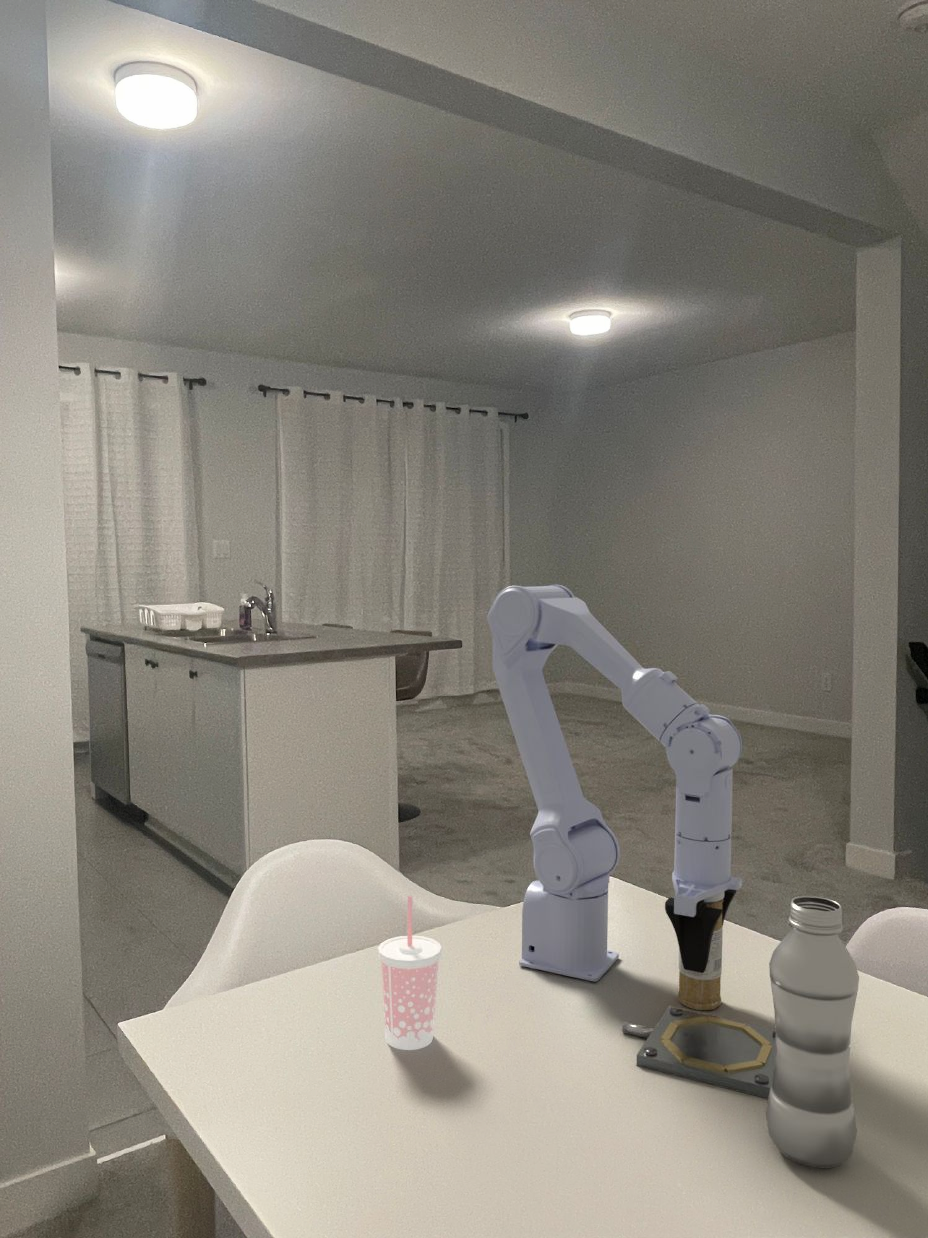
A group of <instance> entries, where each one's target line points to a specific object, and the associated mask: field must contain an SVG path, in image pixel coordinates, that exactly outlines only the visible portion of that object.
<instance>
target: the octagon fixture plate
mask: <svg viewBox="0 0 928 1238" xmlns="http://www.w3.org/2000/svg"><path fill="white" fill-rule="evenodd" d="M621 1030H622V1031H621V1032H622V1033H624V1034H628V1035H632V1036H635V1037H636V1036H637V1037H640V1038H645V1039H646V1040H645V1041H644V1043H643V1044H642V1046H641V1047H640V1049H639V1050H638V1052H637V1053H636V1066H638V1067H642V1068H646V1069H650V1070H653V1071H656V1072H662V1073H665V1074H670V1075H673V1076H676V1077H681V1078H685V1079H689V1080H693V1081H697V1082H701V1083H705V1084H709V1085H713V1086H715V1087H716V1086H717V1087H721V1088H725V1089H728V1090H731V1091H732V1090H733V1091H736V1092H740V1093H744V1094H748V1095H752V1096H756V1097H759V1098H763V1099H766V1100H768V1096H769V1092H770V1088H771V1085H772V1078H773V1069H774V1060H775V1050H776V1039H775V1035H776V1031H775V1028H770V1027H765V1026H760V1025H755V1024H751V1023H747V1022H741V1021H738V1020H733V1019H728V1018H724V1017H720V1016H719V1017H718V1016H716V1015H710V1014H706V1013H701V1012H697V1011H693V1010H688V1009H683V1008H679V1007H674V1006H670V1005H669V1006H668V1007H667V1008H666V1010H665V1012H664V1013H663V1015H661V1018H660V1019H659V1020H658V1022H657V1024H656V1025H655V1027H653V1028H652V1027H649V1026H645V1025H640V1024H636V1023H632V1022H627V1021H624V1022H623V1023H622V1029H621Z"/></svg>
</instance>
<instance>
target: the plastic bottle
mask: <svg viewBox="0 0 928 1238" xmlns="http://www.w3.org/2000/svg"><path fill="white" fill-rule="evenodd" d="M842 916H843V907H842V905H841V904H840V903H839V902H837V901H835V900H834V899H830V898H826V897H821V896H815V895H800V896H795V897H793V898H792V899H791V902H790V914H789V916H788V925H789V927H790V928H791V931H789V933H788V934H787V935H786V936H785V937H784V938H783V939H782V940H781V941H780V942H779V944H778V945H776V947H775V949H774V950H773V952H772V954H771V957H770V960H769V963H768V965H769V967H768V969H769V978H770V986H771V994H772V1001H773V1009H774V1030H775V1031H776V1035H775V1039H776V1050H775V1060H774V1069H773V1078H772V1085H771V1088H770V1092H769V1096H768V1099H767V1103H766V1109H765V1118H766V1123H767V1124H766V1125H767V1132H768V1135H769V1137H770V1140H771V1141H772V1143H773V1145H774V1146H775V1147H776V1149H777V1150H778V1151H779V1152H780V1154H782V1155H783V1156H785V1157H786V1158H787V1159H789V1160H791V1161H794V1162H796V1163H798V1164H800V1165H804V1166H807V1167H810V1168H811V1167H813V1168H820V1169H827V1168H830V1169H831V1168H835V1167H838V1166H841V1165H842V1164H844V1162H846V1160H848V1159H849V1158H850V1156H851V1155H852V1154H853V1151H854V1148H855V1144H856V1139H857V1134H858V1133H857V1132H858V1129H857V1121H856V1113H855V1108H854V1104H853V1100H852V1087H851V1086H852V1085H851V1073H850V1049H851V1047H850V1045H851V1038H852V1037H851V1036H852V1023H853V1018H854V1012H855V1009H856V1008H855V1007H856V1002H857V998H858V997H857V996H858V990H859V983H860V976H859V972H858V968H857V964H856V963H855V960H854V958H853V957H852V955H851V954H850V952H849V950H848V948H847V947H846V946H845V944H844V943H843V941H842V940H841V939H840V937H839V934H841V933H843V930H844V928H843V927H844V926H843V925H844V924H843V922H842V919H843V917H842Z"/></svg>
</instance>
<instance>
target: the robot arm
mask: <svg viewBox="0 0 928 1238" xmlns="http://www.w3.org/2000/svg"><path fill="white" fill-rule="evenodd" d="M488 611H489V612H488V613H487V615H486V620H487V623H488V626H489V629H490V632H491V636H492V659H491V660H492V671H493V674H494V677H495V680H496V684H497V686H498V690H499V693H500V696H501V699H502V703H503V705H504V708H505V712H506V715H507V717H508V721H509V725H510V726H511V730H512V734H513V737H514V739H515V742H516V745H517V748H518V752H519V756H520V758H521V761H522V764H523V767H524V769H525V773H526V777H527V779H528V782H529V785H530V789H531V792H532V794H533V799H534V801H535V804H536V807H537V810H538V812H537V815H536V818H535V819H534V823H533V825H532V827H531V828H530V829H531V830H530V832H529V836H530V838H531V842H532V847H533V858H532V865H533V870H534V874H535V876H536V879H538V880H534V881H532V882H531V883H530V884H529V886H528V887H527V889H526V891H525V895H524V898H523V903H522V913H521V914H522V915H521V917H522V918H521V959H520V960H519V962H518V965H519V966H522V967H527V968H530V969H535V970H540V971H543V972H548V973H553V974H556V975H557V974H558V975H563V976H567V977H572V978H576V979H581V980H585V981H589V982H598V981H599V980H600V979H601V978H602V977H603V975H605V973H606V972H607V971H608V970H609V969H610V968H611V966H612V965H614V963H615V962H616V961H617V960H618V958H619V955H620V954H619V952H616V951H613V950H612V951H611V950H608V928H609V926H608V925H609V921H608V920H609V919H608V918H609V917H608V915H609V884H610V873H612V872H613V871H614V870H615V869H616V868H617V866H618V864H619V863H620V862H619V861H620V859H621V858H620V857H621V849H620V843H619V840H618V838H617V837H616V835H615V833H614V832H613V831H612V830H611V828H610V827H608V825H607V824H606V821H605V820H604V818H603V814H602V812H601V809H599V808H598V807H597V806H596V805H594V804H593V803H592V802H591V801H589V800H587V799H586V798H585V797H584V793H583V791H582V789H581V788H582V787H581V786H580V782H579V779H578V776H577V773H576V770H575V768H574V764H573V761H572V757H571V755H570V753H569V749H568V747H567V746H568V745H567V743H566V740H565V737H564V735H563V731H562V728H561V725H560V722H559V719H558V717H557V713H556V710H555V707H554V703H553V701H552V697H551V696H550V692H549V689H548V686H547V684H546V683H547V682H546V681H545V676H544V674H543V668H544V666H545V665H546V663H547V660H548V658H549V657H550V654H551V653H552V652H553V651H554V649H556V648H557V647H558V646H559V645H561V646H567V647H570V648H571V649H573V650H574V651H575V652H576V653H577V654H578V655H580V656H581V657H582V658H583V659H584V660H585V661H587V662H588V663H589V664H590V665H591V666H592V667H594V668H595V669H596V670H597V671H599V673H600V674H602V675H603V676H604V677H605V678H607V679H608V680H609V681H610V682H611V683H612V684H614V685H615V687H616V688H618V689H620V691H621V703H622V706H623V708H624V709H625V710H626V711H627V712H628V713H629V714H630V715H631V716H632V717H633V718H634V719H635V720H637V722H638V723H640V725H642V726H643V727H644V729H646V730H647V732H648V733H650V734H651V735H652V736H653V737H654V738H655V739H656V740H657V741H658V742H659V743H660V744H661V745H662V746H663V747H664V748H665V756H666V759H667V761H668V763H669V765H670V768H671V769H672V770H673V771H674V774H675V817H674V818H675V820H674V821H675V825H674V828H675V830H674V858H673V859H674V864H673V867H674V868H673V871H672V872H671V873H672V875H671V881H672V884H673V885H672V886H673V889H674V893H675V894H674V897H669V898H667V900H666V901H665V902H664V910H665V913H666V915H667V917H668V919H669V920H670V923H671V926H672V927H673V929H674V932H675V937H676V940H677V944H678V950H679V949H680V955H681V959H682V964H683V967H684V969H685V970H690V971H695V972H700V973H704V971H705V969H706V966H707V963H708V958H709V952H710V946H711V940H712V936H713V932H714V929H715V926H716V924H717V921H718V919H719V917H720V916H721V914H722V926H723V927H724V921H725V918H726V915H727V912H728V910H729V908H730V905H731V903H732V901H733V899H734V897H735V895H736V893H737V891H739V890H741V888H742V887H743V879H742V878H740V877H736V876H735V877H734V876H732V874H731V869H732V868H731V867H732V866H731V864H732V863H731V862H732V861H731V859H732V832H733V830H732V829H733V828H732V826H733V825H732V824H733V823H732V822H733V821H732V820H733V779H734V777H733V775H734V772H733V771H734V769H733V768H732V767H733V766H734V765H736V763H737V762H738V761H739V759H740V758H741V755H742V752H743V741H742V740H743V739H742V737H741V733H740V732H739V730H738V729H737V727H736V726H735V725H734V724H733V722H732V721H731V719H730V718H729V717H726V716H724V715H723V716H722V715H719V714H710V711H711V709H710V708H709V707H708V706H706V704H704V703H703V704H702V703H701V704H699V703H698V702H697V701H695V699H694V698H692V696H690V695H689V694H688V692H686V691H685V690H684V689H683V688H681V687H680V686H679V685H678V684H677V683H676V682H677V681H678V679H679V678H678V677H677V676H676V675H675V674H674V673H673V672H672V671H663V670H662V669H661V668H658V667H651V668H650V667H649V668H644V667H643V666H642V665H641V664H640V663H639V662H638V661H637V660H636V659H635V658H634V657H633V656H632V654H631V653H629V651H628V650H627V649H626V648H624V646H623V645H622V644H621V643H620V642H619V641H618V640H617V639H616V638H615V637H614V636H613V634H612V633H610V631H608V630H607V629H606V628H605V627H604V626H603V625H602V623H601V622H599V620H598V619H597V618H596V617H595V616H594V615H593V614H592V613H591V612H590V610H589V607H588V606H587V604H586V602H585V601H584V600H582V599H580V598H579V597H576V596H575V594H574V593H573V592H572V591H571V590H570V589H569V588H568V587H566V586H564V585H562V584H549V585H542V586H538V585H537V586H536V585H535V586H522V585H509V586H507V587H505V588H504V589H502V590H501V591H499V593H498V594H497V595H496V597H495V598H494V600H493V603H492V604H491V607H490V609H489V610H488ZM723 891H724V898H723V902H722V909H716V908H710V907H707V904H706V903H705V904H704V899H706V898H708V897H711V896H713V895H716V894H718V893H721V892H723Z"/></svg>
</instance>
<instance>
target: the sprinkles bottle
mask: <svg viewBox="0 0 928 1238" xmlns="http://www.w3.org/2000/svg"><path fill="white" fill-rule="evenodd" d="M723 898H724V891H723V892H721V893H718V894H716V895H713V896H711V897H708V898H706V899H704V904H705V903H706V904H707V907H710V908H716V909H722V902H723ZM723 927H724V925H723V926H722V914H721V916H720V917H719V919H718V921H717V924H716V926H715V929H714V932H713V936H712V940H711V946H710V952H709V958H708V963H707V966H706V969H705V971H704V973H700V972H695V971H690V970H685V969H684V967H683V964H682V959H681V955H680V949H679V948H678V970H679V971H678V974H679V976H678V992H677V999H678V1001H679V1002H680V1004H682V1005H683V1006H686V1007H688V1008H691V1009H693V1010H697V1011H711V1010H715V1009H716V1008H719V1006H720V1005H721V1003H722V996H721V981H722V980H721V979H722V969H723V968H722V967H723V966H722V964H723Z"/></svg>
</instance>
